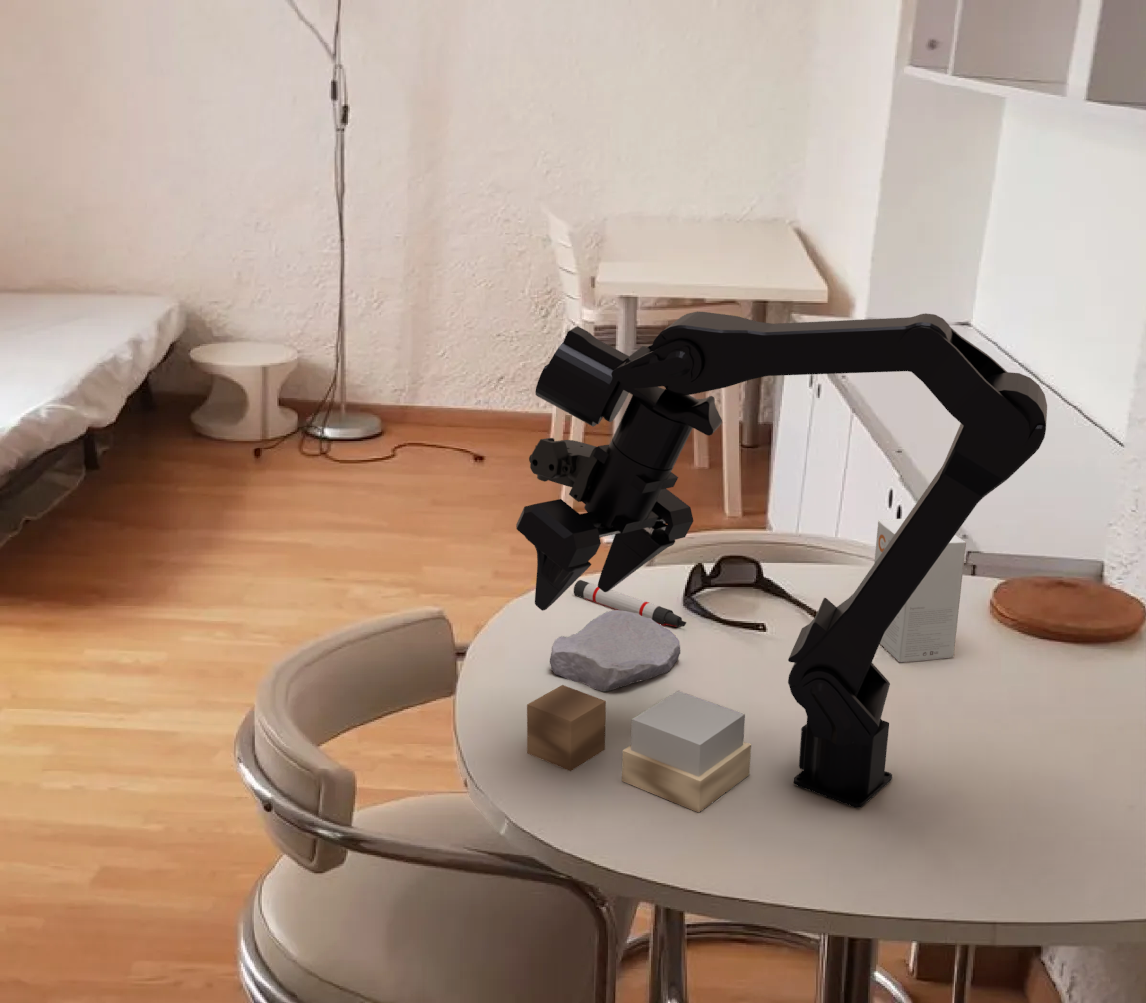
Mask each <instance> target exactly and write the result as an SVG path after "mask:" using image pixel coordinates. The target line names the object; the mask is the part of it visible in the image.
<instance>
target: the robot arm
mask: <svg viewBox="0 0 1146 1003" xmlns="http://www.w3.org/2000/svg"><path fill="white" fill-rule="evenodd" d="M890 372H891V373H895V372H911V373H912V374H913V375H914V376H915V377H917V379H919V380H920V381H921V382H922V383H923V384H924V385H925V386H926V388H927V389H928V390H929V391H930V392H931V394H932V395H933V396H934V397H935V398H936V399H937V401H938V402H939V403H940V404H941V405H942V406H943V407H944V408H945V409H946V411H947V412H948V413H949V414H950V415H951V416H952V417H953V418H954V419H955V420H956V421H958V422H959V423H960V425H959V427H958V429H957V432H956V434H955V436H954V438H953V441H952V443H951V445H950V448H949V451H948V453H947V454H946V455H947V456H946V457H945V460H944V462H943V464H942V466H941V468H940V469H939V470H938V471H937V473H936V474H935V476H934V478H933V479H932V480H931V482H930V483H929V484H928V486H927V487H926V489H925V491H924V492H923V493H922V495H921V496H920V497H919V499H918V501H917V502H915V505H914V506H913V508H912V509H911V511H910V512H909V513H908V515H907V516H906V518H904V519H905V520H904V522H903V523H902V525H901V526H900V528H899V529H898V531H897V532H896V533H895V535H894V536H893V538H892V539H891V541H890V542H889V543H888V545H887V546H886V548H885V549H884V551H883V552H882V553H881V555H880V556H879V558H878V559H877V561H876V562H875V564H874V563H873V565H872V566H871V568H870V569H869V571H868V572H867V573H866V574H865V576H864V578H863V579H862V581H861V582H860V583H859V585H858V587H857V588H856V589H855V591H854V593H852V594H851V595H850V596H849V597H848V598H846V599H845V600H844V601H843V602H841V603H840V604H839V605H837V606H836V605H834V603H832V602H831V601H830V600H829V599H828V598H827V597H823V599H822V601H821V603H820V605H819V608H818V610H817V613H816V615H815V617H814V618H813V619H812V620H811V621H810V623H808V624H807V625H805V626H803V627H802V628H801V630H800V632H799V635H798V637H797V638H796V641H795V643H794V645H793V648H792V651H791V653H790V655H789V656H788V659H787V660H788V662H789V663H793V665H792V667H791V670H790V672H789V675H788V681H787V683H788V686H789V690H790V694H791V695H792V696H793V698H794V700H795V701H796V703H797V704H799V705H800V706H801V707H802V708H803V709H804V710H805V714H806V724H804V726H802V727H801V729H800V732H801V733H800V744H799V756H798V757H799V758H798V768H799V769H800V770H802V771H800V772H799V773H798V774H797V775H795V776H794V777H793V785H795V786H797V787H799V788H803V789H805V790H807V791H810V792H813V793H815V794H817V795H820V796H823V797H826V798H829V799H831V800H833V801H836V802H839V803H842V804H844V805H846V806H850V807H852V808H856V809H858V808H859V809H860V808H862V807H864V806H865V804H867V803H868V802H869V801H870V800H872V798H874V797H875V796H876V795H877V794H878V793H880V791H881V790H882V789H884V787H886V786H888V784H889V783H890V782H891V781H892V780H893V774H892V773H891V772H889V771H886V761H887V750H888V740H889V730H890V722H888V721H887V720H883V719H882V715H883V711H884V707H885V703H886V700H887V697H888V693H889V689H890V685H891V683H890V680H889V679H887V678H886V677H885V675H884V674H883V673H882V672H881V671H880V670H879V668H878V667H877V666H876V665H875V664H874V663H873V660H874V658H875V656H876V653H877V651H878V648H879V646H880V645H881V644H880V642H881V639H882V637H883V635H884V633H885V631H886V630H887V628H888V627H889V625H890V624H891V623H892V621H893V620H894V619H895V617H896V616H897V614H898V613H899V612H900V610H901V609H902V607H903V606H904V605H905V603H906V602H907V601H908V599H909V598H910V596H911V595H912V594H913V592H914V591H915V589H916V588H917V587H918V585H919V584H920V582H921V581H922V580H923V578H924V577H925V576H926V574H927V573H928V571H929V570H930V569H931V567H932V566H933V564H934V563H935V562H936V560H937V559H938V558H939V556H940V555H941V553H942V552H943V551H944V549H945V548H946V546H947V545H948V544H949V542H950V541H951V539H952V538H953V537H954V535H956V534H957V533H958V531H959V530H960V528H961V527H962V525H963V524H964V523H965V521H966V520H967V519H968V517H969V516H970V515H971V513H972V512H973V510H974V509H975V507H977V505H978V503H980V502H981V500H983V499H984V498H985V497H987V495H989V494H990V493H991V492H993V491H994V490H996V489H997V488H998V487H999V486H1001V485H1002V484H1003V483H1005V482H1006V481H1008V479H1009V478H1011V477H1012V476H1013V475H1014V474H1015V473H1016V472H1018V470H1019V469H1020V468H1021V467H1022V466H1023V465H1024V464H1025V463H1026V462H1027V461H1028V460H1029V459H1030V458H1032V457H1033V455H1035V454H1036V453H1037V452H1038V450H1039V449H1040V447H1041V446H1042V443H1043V442H1044V439H1045V436H1046V432H1047V415H1048V404H1047V398H1046V395H1045V392H1044V390H1043V389H1042V387H1041V386H1040V384H1038V383H1037V382H1036V381H1035V380H1034V379H1032V378H1031V377H1030V376H1028V375H1024V374H1022V373H1020V372H1009V371H1007V370H1006V369H1005V368H1003V366H1002V365H1000V364H999V363H998V362H997V361H996V360H995V359H994V358H993V357H992V356H990V355H988V354H987V353H986V352H985V351H983V350H982V349H980V348H979V347H977V346H976V345H974V344H973V343H971V342H970V341H968V340H967V339H966V338H965V337H963V336H961V334H959V333H958V332H957V331H956V330H954V329H953V327H951V326H950V324H949V323H948V322H947V321H946V320H945V319H944V318H943V317H941V316H939V315H937V314H933V313H920V314H917V315H913V316H911V317H910V316H909V317H908V316H907V317H889V318H868V319H847V320H845V319H843V320H827V321H825V320H824V321H821V320H820V321H806V322H805V321H803V322H783V323H769V322H764V321H763V322H762V321H756V320H753V319H749V318H745V317H742V316H738V315H733V314H730V315H729V314H725V313H724V314H723V313H716V312H708V311H693V312H689V313H685V314H684V315H682V316H680V317H679V318H677V319H676V320H675V321H673V322H672V323H671V324H669V326H667V327H666V328H664V329H663V330H662V331H661V332H659V334H658V335H657V336H656V337H655V338H654V339H653V342H652V344H650V345H648V346H643V345H642V346H640V348H639V349H637V350H636V351H634V352H633V353H632V354H630V355H627V354H626V353H623V352H622V351H620V350H618V349H616V348H615V347H613V346H611V345H609V344H607V343H605V342H603V341H602V340H600V339H598V338H596V336H594V335H593V334H592V333H591V332H590V331H588V330H586V329H584V328H582V327H580V326H578V325H577V326H575V327H573V328H571V329H570V330H568V331H567V333H566V335H565V337H564V339H563V341H562V343H560V345H559V346H558V348H557V349H556V351H555V352H554V354H553V355H552V357H551V358H550V360H549V362H548V363H547V364H546V365H544V367H543V369H542V371H541V373H540V375H539V379H538V380H537V384H536V386H535V396H536V397H537V398H539V399H541V400H543V401H546V403H549V404H550V405H553V406H554V407H557V408H558V409H560V410H561V411H562V412H563V411H564V412H566V413H567V414H569V415H571V416H572V417H575V418H577V419H578V420H580V421H581V422H584V423H585V424H587V425H589V426H590V427H596V426H597V425H600V423H601V421H602V419H604V420H605V421H607V422H608V423H612V422H613V421H614V419H615V418H616V417H617V416H618V414H619V412H620V411H621V409H622V407H623V406H624V404H625V402H626V401H627V397H628V396H629V394H630V395H632V396H631V399H630V401H629V402H628V405H627V407H626V409H625V410H624V413H623V415H622V417H621V419H620V422H619V423H618V426H617V428H616V429H615V432H614V433H613V436H612V438H611V439H610V440H611V441H610V442H609V444H603V445H598V446H597V445H596V446H595V445H592V444H589V443H585V442H582V441H578V440H572V439H561V440H555V438H554V437H547V438H541V439H539V441H538V443H537V444H536V445H535V447H534V449H533V451H532V453H531V454H530V455H529V457H528V462H529V464H530V465H529V468H530V470H531V472H532V474H534V475H536V479H537V480H539V481H542V482H548V481H549V482H552V483H555V484H558V485H562V486H565V487H569V488H571V489H570V490H569V493H568V495H569V496H570V497H571V498H573V499H574V500H575V501H576V502H577V503H579V502H582V503H583V504H584V507H583V508H584V510H585V511H586V512H583V513H579V512H578V511H576V510H575V509H574V508H573V507H572V506H570V505H569V504H568V503H567V502H566V501H564V500H563V499H562V498H558V499H555V500H554V499H553V500H548V501H543V502H537V503H534V504H528V505H525V506H524V507H523V509H522V511H521V512H520V516H519V518H518V520H517V521H516V524H515V525H516V530H517V531H518V532H519V533H521V534H522V535H523V536H524V538H525V539H526V540H527V541H528V542H530V543H531V544H532V545H533V546H534V548H535V550H536V559H537V560H536V562H537V563H536V566H537V567H536V580H535V581H536V582H535V592H534V605H535V606H536V607H537V608H538V609H539V610H541V611H542V612H543V611H546V610H547V609H549V608H550V607H551V606H552V605H553V604H554V603H555V602H556V601H557V600H558V599H559V598H560V597H561V596H562V595H563V594H565V592H566V591H567V590H568V589H569V588H570V587H571V586H572V585H573V584H575V582H577V580H578V579H579V578H580V577H581V576H582V575H583V574H584V573H585V572H586V571H587V570H588V569H590V567H591V565H592V563H591V562H590V560H591V559H593V557H594V556H595V555H597V552H598V550H599V548H600V547H601V544H602V542H601V538H604V537H608V536H613V535H614V537H613V538H612V543H611V545H610V547H609V550H608V553H607V556H606V559H605V562H604V564H603V566H602V570H601V572H600V575H599V578H598V579H599V580H598V583H597V585H598V587H599V588H600V589H601V590H602V591H603V592H608V591H610V590H613V588H615V587H616V586H618V585H619V584H620V583H621V582H623V581H624V580H625V579H627V578H628V577H630V576H631V575H632V574H634V573H635V572H636V571H637V570H639V569H640V568H641V567H642V566H644V565H645V564H647V563H648V562H650V561H651V560H652V559H654V558H655V557H657V556H659V554H661V553H662V552H663V551H665V550H666V549H668V548H669V547H673V545H674V544H675V543H676V540H681V539H684V538H686V536H687V534H688V533H689V530H690V529H691V527H692V524H693V523H694V516H693V513H692V509H691V506H690V505H688V504H687V503H686V502H684V501H683V500H682V499H680V498H679V497H678V496H676V495H675V494H674V493H673V492H671V490H668V489H670V488H674V487H675V485H676V483H677V481H678V479H679V476H678V475H676V474H675V473H673V472H672V471H673V469H674V466H675V465H676V463H677V460H678V458H679V457H680V455H681V453H682V450H683V449H684V447H685V444H686V443H687V441H688V438H689V436H690V435H691V432H692V431H693V429H694V430H696V431H698V432H700V433H702V434H704V435H705V436H712V435H713V434H714V433H715V432H716V431H717V429H719V427H721V425H722V423H723V419H722V417H721V415H720V412H719V411H718V409H717V407H716V402H715V401H716V400H715V396H712V395H710V396H708V397H705V398H696V397H694V396H692V395H695V394H700V393H706V392H711V391H716V390H719V389H725V388H728V387H732V386H735V385H738V384H741V383H744V382H748V381H751V380H754V379H759V378H764V377H771V376H772V377H775V376H803V375H804V376H805V375H806V376H807V375H808V376H809V375H827V374H828V375H832V374H833V375H835V374H838V375H839V374H863V373H865V374H867V373H890ZM662 387H664V388H662Z"/></svg>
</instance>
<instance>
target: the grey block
mask: <svg viewBox="0 0 1146 1003" xmlns="http://www.w3.org/2000/svg"><path fill="white" fill-rule="evenodd" d="M745 721H746V713H744V712H740V711H738V710H734V709H732V708H729V707H726V706H724V705H720V704H719V703H715V702H712V701H710V700H706V699H703V698H702V697H698V696H695V695H692V694H689V693H687V692H683V691H681V690H676V691H675V692H673V693H671V694H669V695H668V696H666V697H665V698H664V699H661V700H660V701H659V702H656V703H655V704H654V705H652V706H650V707H649V708H647V709H646V710H644V711H642V712H641V713H640V714H638V715H636V716H635V717H633V718H631V728H630V729H631V730H630V733H631V736H630V746H631V750H632V751H634V752H637V753H639V754H642V755H644V756H647V757H649V758H652V759H655V760H657V761H660V762H662V763H665V764H667V765H670V766H672V767H675V768H677V769H680V770H683V771H685V772H688V773H690V774H693V775H695V776H698V777H699V776H701V775H702V774H703V773H705V772H706V771H708V770H709V769H710V768H712V767H713V766H715V765H716V764H717V763H719V762H720V761H721V760H723V759H724V758H726V757H727V756H728V755H730V754H731V753H733V752H734V751H735V750H737V749H738V748H740V747H741V746H742V745H743V742H745V741H744V740H745V738H744V737H745Z"/></svg>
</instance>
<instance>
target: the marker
mask: <svg viewBox="0 0 1146 1003" xmlns="http://www.w3.org/2000/svg"><path fill="white" fill-rule="evenodd" d="M575 582H576V583H574V586H573V594H574V596H577V597H580V598H582V599H585V600H587V601H590V602H593V603H596V604H598V605H600V606H604V605H605V607H607V608H611V609H613V610H620V611H627V612H632V613H637V614H639V615H641V616H643V617H645V618H651V619H652V620H653V621H655V622H656V623H658V624H661V626H663V627H666V626H670V627H675V628H679V627H680V626H681V627H683V628H684V627H685V626H686V624H687V621H684V620H683V618H682V617H681V616H680V615H677V614H675V613H674V612H673V610H671V609H669V608H666V607H662V606H660V605H658V604H655V603H653V602H648V601H646V600H643V599H639V598H637V597H634V596H631V595H629V594H625V593H622V592H619V591H616V590H613V589H611V590H610V591H608V592H603V591H602V590H601V589H600V588H599V587H598V584H595V583H592V582H588V581H585V580H582V579H579V580H578V581H577V580H576V581H575Z"/></svg>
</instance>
